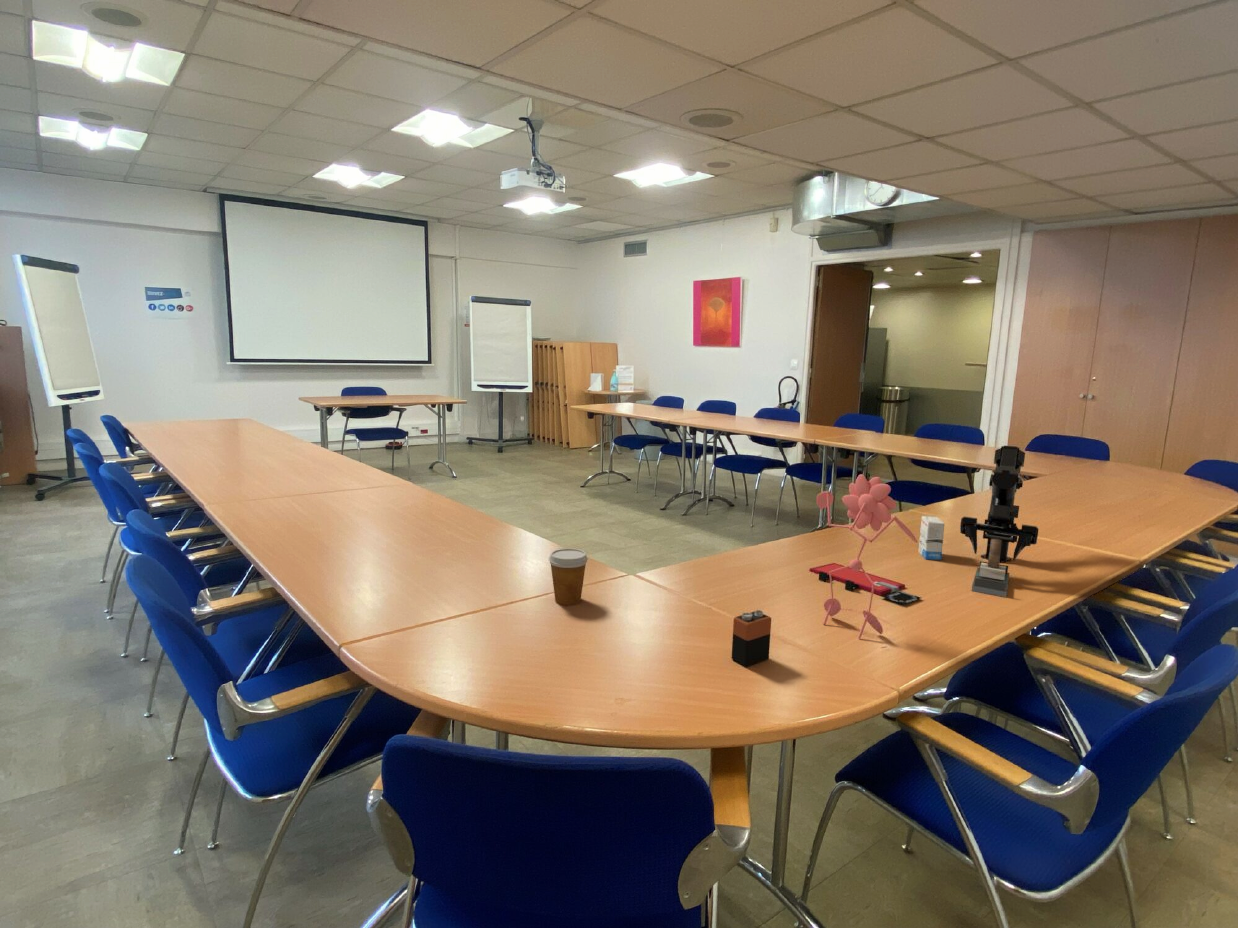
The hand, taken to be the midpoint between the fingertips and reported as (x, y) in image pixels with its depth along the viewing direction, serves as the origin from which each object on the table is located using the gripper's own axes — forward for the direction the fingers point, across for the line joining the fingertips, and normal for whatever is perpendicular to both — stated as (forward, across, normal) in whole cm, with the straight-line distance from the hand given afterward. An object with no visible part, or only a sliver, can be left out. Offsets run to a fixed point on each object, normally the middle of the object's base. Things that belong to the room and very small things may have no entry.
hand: (994, 556), depth 179 cm
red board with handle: (+22, -29, -11) cm, 38 cm away
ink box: (-6, -18, +17) cm, 25 cm away
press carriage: (+4, 0, +4) cm, 6 cm away
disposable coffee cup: (+61, -87, -50) cm, 117 cm away
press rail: (+7, 0, +4) cm, 8 cm away
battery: (+63, -38, -53) cm, 91 cm away
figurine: (+42, -24, -31) cm, 57 cm away
